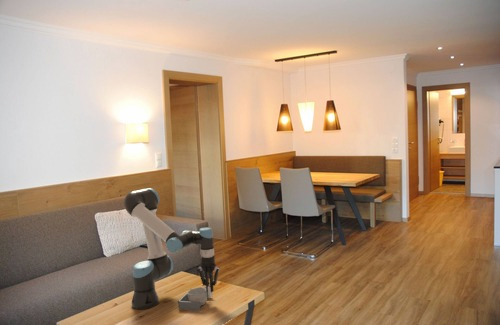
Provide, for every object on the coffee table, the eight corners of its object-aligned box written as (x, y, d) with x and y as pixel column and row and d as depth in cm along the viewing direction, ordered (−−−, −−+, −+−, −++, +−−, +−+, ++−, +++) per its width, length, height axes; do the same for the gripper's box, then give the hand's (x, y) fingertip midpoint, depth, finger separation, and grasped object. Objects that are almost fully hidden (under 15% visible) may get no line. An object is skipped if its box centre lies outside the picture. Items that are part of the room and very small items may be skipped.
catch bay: (178, 309, 223) (177, 301, 223) (191, 296, 240) (190, 289, 240) (200, 310, 220) (199, 302, 219) (211, 297, 237) (211, 290, 236)
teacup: (197, 310, 220) (196, 295, 220) (184, 305, 227) (183, 292, 227) (215, 300, 231) (214, 287, 230) (202, 297, 238) (201, 283, 237)
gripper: (194, 257, 223) (197, 299, 225) (216, 258, 220) (219, 300, 222) (199, 253, 231) (202, 294, 232) (220, 254, 227) (223, 295, 229)
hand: (210, 297), depth 227 cm, fingers closed
